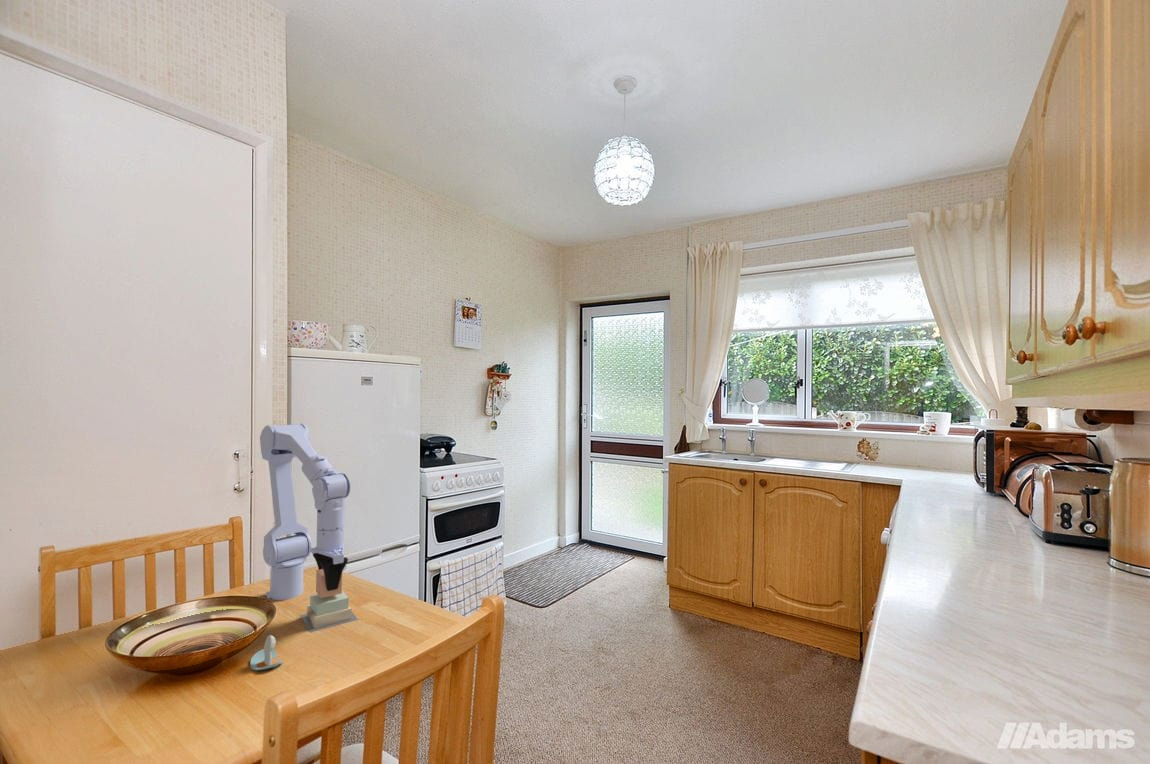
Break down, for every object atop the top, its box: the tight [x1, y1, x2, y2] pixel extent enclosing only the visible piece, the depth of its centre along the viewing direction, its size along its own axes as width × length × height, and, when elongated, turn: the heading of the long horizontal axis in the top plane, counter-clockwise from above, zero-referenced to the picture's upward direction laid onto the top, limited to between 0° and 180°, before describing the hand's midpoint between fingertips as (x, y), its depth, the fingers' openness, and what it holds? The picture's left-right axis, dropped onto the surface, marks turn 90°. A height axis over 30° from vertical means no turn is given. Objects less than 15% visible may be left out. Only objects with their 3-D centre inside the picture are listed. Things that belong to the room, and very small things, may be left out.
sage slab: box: [309, 590, 349, 616], centre depth 118 cm, size 7×7×2 cm
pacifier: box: [249, 635, 283, 671], centre depth 98 cm, size 7×6×6 cm
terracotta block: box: [315, 569, 343, 598], centre depth 118 cm, size 4×4×5 cm
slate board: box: [299, 610, 359, 633], centre depth 118 cm, size 10×10×1 cm
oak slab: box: [306, 604, 352, 628], centre depth 118 cm, size 8×8×2 cm
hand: (329, 586), depth 118 cm, fingers closed on terracotta block, 4 cm apart
